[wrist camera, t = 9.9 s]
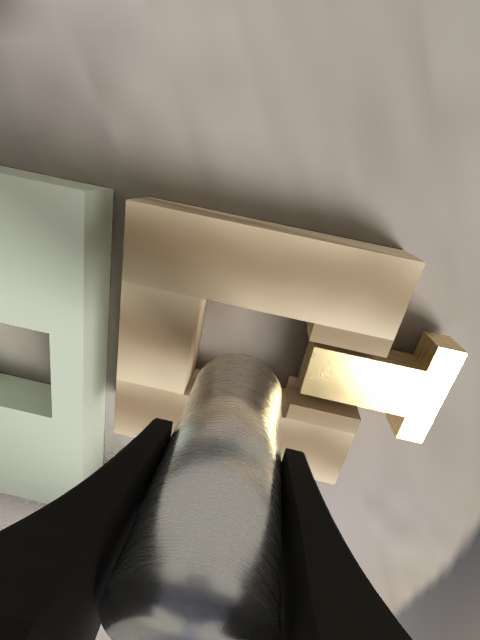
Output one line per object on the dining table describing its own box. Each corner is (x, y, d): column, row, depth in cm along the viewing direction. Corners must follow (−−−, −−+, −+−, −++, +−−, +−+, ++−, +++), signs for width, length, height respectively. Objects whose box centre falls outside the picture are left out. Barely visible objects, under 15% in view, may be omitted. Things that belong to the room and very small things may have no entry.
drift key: (409, 421, 21) (421, 443, 20) (292, 394, 22) (293, 414, 20) (450, 336, 19) (468, 353, 17) (318, 308, 19) (322, 321, 18)
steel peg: (270, 436, 16) (258, 697, 8) (189, 417, 16) (95, 655, 8) (291, 365, 15) (302, 598, 7) (201, 344, 15) (100, 548, 7)
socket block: (328, 449, 24) (334, 484, 21) (132, 403, 24) (113, 432, 21) (403, 250, 18) (425, 262, 15) (149, 196, 19) (125, 199, 16)
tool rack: (102, 478, 27) (82, 512, 25) (-17, 450, 28) (-50, 480, 25) (113, 189, 19) (84, 190, 16) (-60, 152, 19) (-118, 148, 16)
